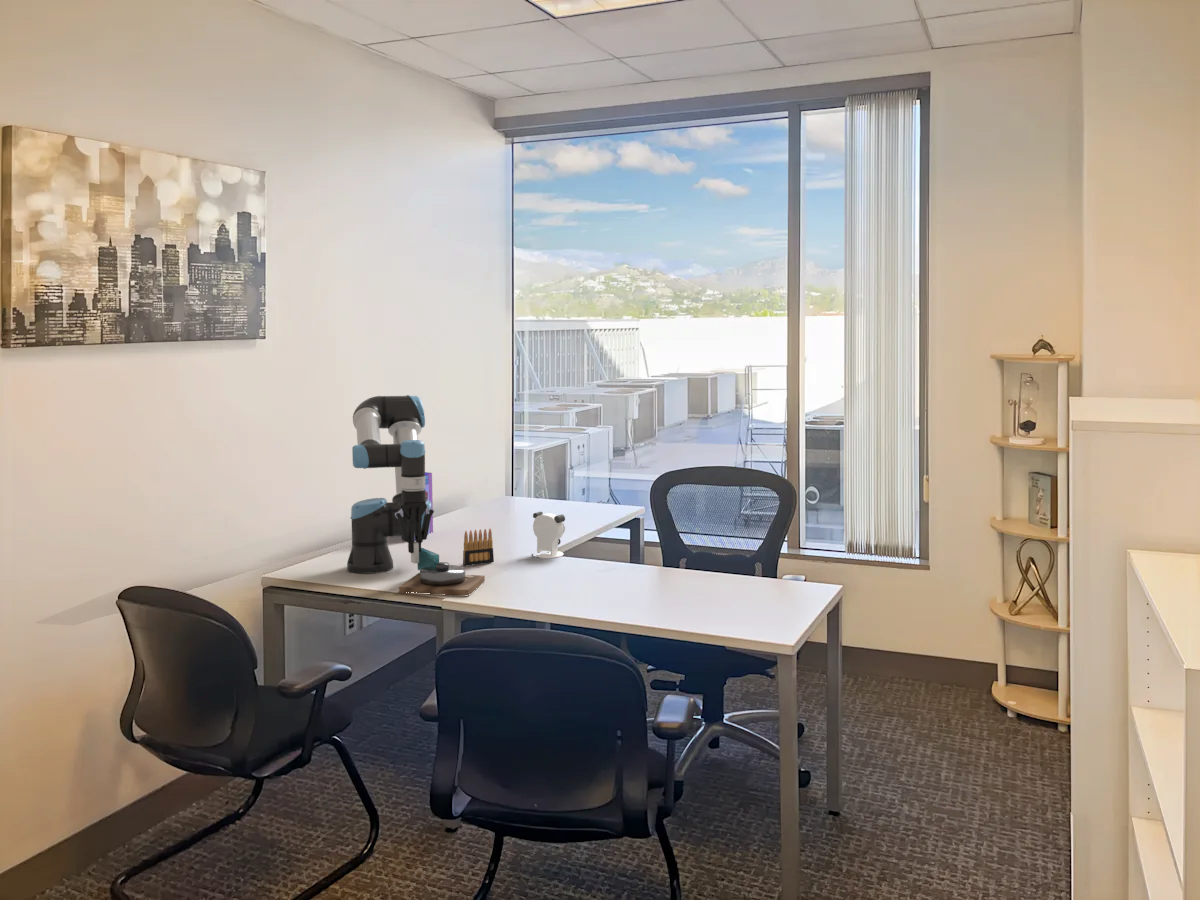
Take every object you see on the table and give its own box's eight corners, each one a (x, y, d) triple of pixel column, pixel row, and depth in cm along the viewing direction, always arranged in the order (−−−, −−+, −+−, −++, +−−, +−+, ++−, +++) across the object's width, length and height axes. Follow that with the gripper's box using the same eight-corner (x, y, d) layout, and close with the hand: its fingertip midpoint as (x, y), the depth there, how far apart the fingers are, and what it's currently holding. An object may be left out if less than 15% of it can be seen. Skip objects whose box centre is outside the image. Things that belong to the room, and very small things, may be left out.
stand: (399, 593, 307) (398, 586, 307) (418, 578, 325) (418, 572, 324) (468, 596, 303) (468, 589, 303) (484, 581, 321) (484, 574, 321)
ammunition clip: (464, 565, 343) (464, 531, 341) (462, 564, 344) (462, 530, 343) (493, 562, 348) (493, 528, 346) (492, 561, 349) (491, 527, 348)
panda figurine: (571, 554, 361) (571, 512, 359) (553, 560, 351) (552, 517, 350) (544, 550, 367) (543, 509, 365) (525, 555, 358) (525, 514, 356)
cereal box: (415, 541, 382) (413, 478, 379) (403, 540, 383) (402, 478, 380) (433, 532, 399) (431, 472, 396) (421, 531, 400) (420, 472, 397)
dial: (473, 580, 312) (473, 558, 311) (432, 587, 304) (432, 564, 303) (439, 566, 331) (439, 545, 330) (400, 572, 323) (399, 550, 322)
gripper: (399, 492, 310) (400, 567, 313) (437, 489, 317) (438, 562, 320) (389, 489, 316) (391, 562, 319) (427, 486, 324) (428, 557, 326)
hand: (415, 562), depth 320 cm, fingers closed
